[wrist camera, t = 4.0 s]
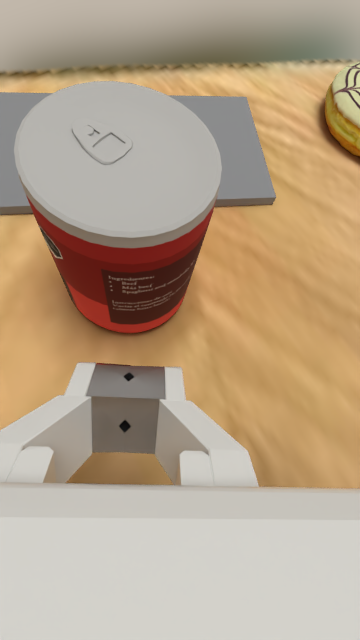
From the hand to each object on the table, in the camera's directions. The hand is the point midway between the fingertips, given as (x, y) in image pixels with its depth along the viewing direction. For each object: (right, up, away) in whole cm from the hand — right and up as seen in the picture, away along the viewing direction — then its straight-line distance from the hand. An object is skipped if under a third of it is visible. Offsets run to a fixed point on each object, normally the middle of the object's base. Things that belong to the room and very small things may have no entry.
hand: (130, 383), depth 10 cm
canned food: (-2, +4, +13) cm, 14 cm away
